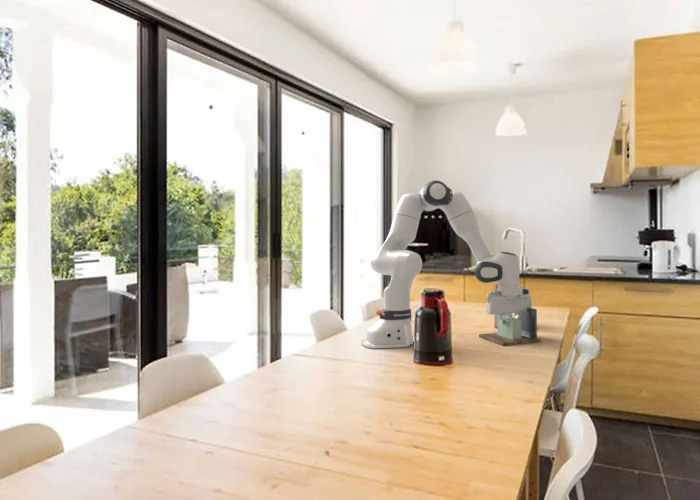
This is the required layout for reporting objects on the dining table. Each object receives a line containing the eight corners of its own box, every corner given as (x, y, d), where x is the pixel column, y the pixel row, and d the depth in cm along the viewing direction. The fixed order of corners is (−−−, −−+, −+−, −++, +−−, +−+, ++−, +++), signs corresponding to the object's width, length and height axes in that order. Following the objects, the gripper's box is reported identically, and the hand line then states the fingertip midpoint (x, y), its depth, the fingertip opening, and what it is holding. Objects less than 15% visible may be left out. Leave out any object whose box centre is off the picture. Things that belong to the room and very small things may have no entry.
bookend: (529, 338, 214) (528, 309, 214) (508, 332, 228) (508, 305, 227) (536, 338, 215) (536, 309, 215) (516, 331, 229) (515, 304, 228)
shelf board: (503, 346, 208) (503, 343, 208) (479, 337, 225) (479, 334, 225) (541, 341, 214) (541, 338, 214) (514, 333, 231) (514, 330, 231)
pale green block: (512, 339, 214) (512, 320, 213) (497, 334, 224) (497, 315, 224) (521, 338, 215) (521, 319, 215) (505, 333, 225) (505, 315, 225)
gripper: (491, 293, 212) (491, 326, 213) (533, 290, 219) (534, 322, 219) (482, 291, 218) (483, 324, 219) (524, 288, 225) (524, 320, 225)
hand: (509, 323), depth 219 cm, fingers open, 5 cm apart
